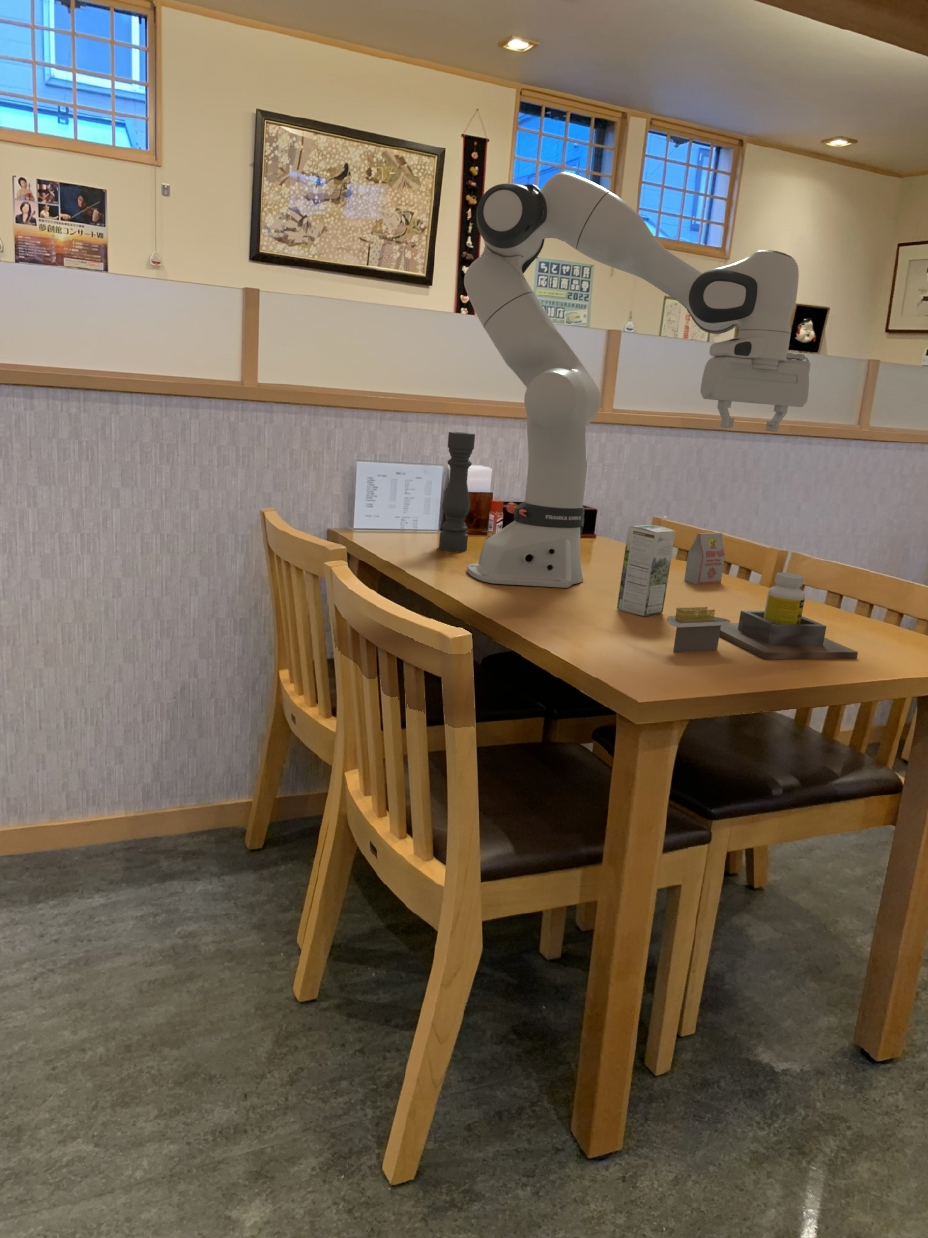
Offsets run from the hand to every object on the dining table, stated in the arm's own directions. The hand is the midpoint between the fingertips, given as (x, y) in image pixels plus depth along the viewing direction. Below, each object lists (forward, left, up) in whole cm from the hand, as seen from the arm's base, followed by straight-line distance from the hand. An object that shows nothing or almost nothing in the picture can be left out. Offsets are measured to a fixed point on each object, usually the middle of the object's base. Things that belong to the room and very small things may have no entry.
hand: (749, 429), depth 161 cm
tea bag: (+4, +14, -31) cm, 35 cm away
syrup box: (-23, -11, -31) cm, 40 cm away
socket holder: (-9, -30, -31) cm, 44 cm away
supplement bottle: (-9, -30, -30) cm, 44 cm away
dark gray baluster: (-41, +43, -31) cm, 67 cm away
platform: (-26, -33, -32) cm, 52 cm away
